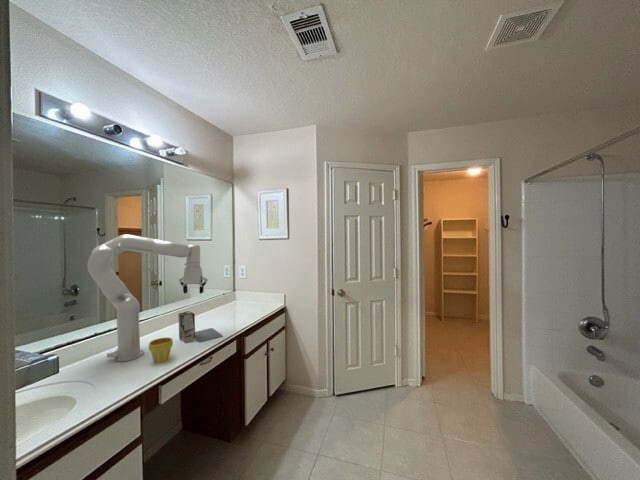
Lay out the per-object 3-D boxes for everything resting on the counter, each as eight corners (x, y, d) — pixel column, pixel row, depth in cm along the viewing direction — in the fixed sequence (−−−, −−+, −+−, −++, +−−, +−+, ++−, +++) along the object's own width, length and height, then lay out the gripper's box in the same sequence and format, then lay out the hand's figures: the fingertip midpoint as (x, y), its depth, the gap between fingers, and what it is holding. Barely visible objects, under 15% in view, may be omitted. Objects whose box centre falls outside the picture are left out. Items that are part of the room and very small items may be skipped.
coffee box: (195, 340, 162) (194, 313, 162) (184, 343, 158) (183, 315, 157) (189, 336, 169) (188, 310, 168) (178, 339, 164) (177, 313, 164)
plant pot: (177, 358, 138) (176, 339, 138) (156, 366, 129) (156, 346, 129) (165, 354, 143) (165, 335, 143) (145, 362, 134) (144, 342, 134)
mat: (199, 342, 158) (199, 341, 158) (190, 333, 173) (189, 333, 173) (222, 336, 167) (222, 335, 167) (212, 328, 182) (212, 327, 182)
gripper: (175, 265, 160) (175, 294, 160) (204, 265, 160) (204, 294, 160) (182, 264, 168) (182, 292, 168) (210, 264, 167) (210, 292, 167)
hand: (193, 293), depth 164 cm, fingers open, 9 cm apart
